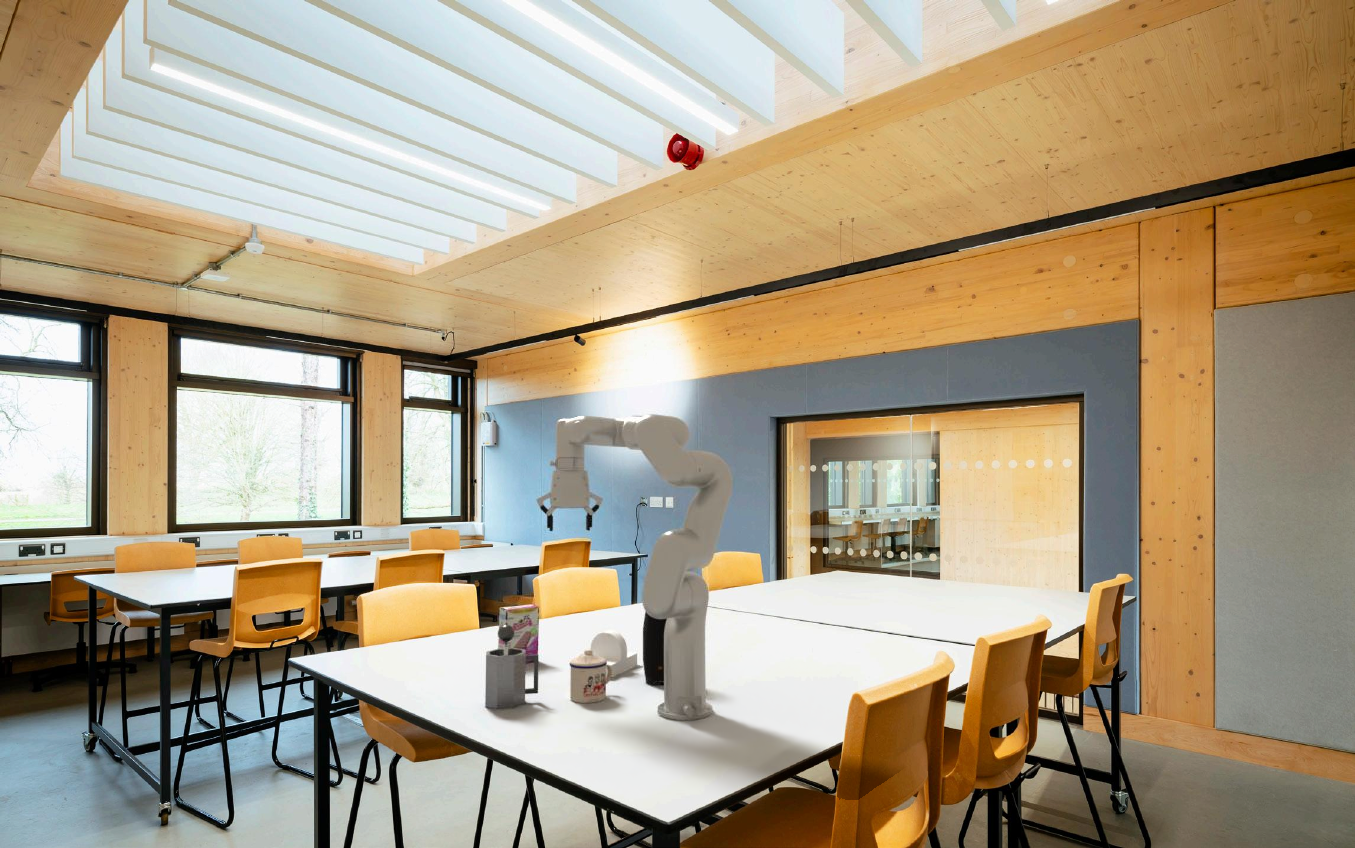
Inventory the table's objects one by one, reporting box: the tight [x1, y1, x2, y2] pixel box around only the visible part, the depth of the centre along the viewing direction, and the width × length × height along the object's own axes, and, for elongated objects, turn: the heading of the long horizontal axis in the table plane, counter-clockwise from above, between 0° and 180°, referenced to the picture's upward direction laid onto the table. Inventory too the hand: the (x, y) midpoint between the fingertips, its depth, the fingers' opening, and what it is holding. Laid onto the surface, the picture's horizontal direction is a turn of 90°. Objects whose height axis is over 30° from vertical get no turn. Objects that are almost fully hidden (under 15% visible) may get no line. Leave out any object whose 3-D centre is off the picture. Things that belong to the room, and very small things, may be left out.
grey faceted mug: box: [484, 648, 539, 710], centre depth 179 cm, size 9×12×12 cm
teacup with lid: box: [569, 648, 612, 704], centre depth 184 cm, size 12×9×12 cm
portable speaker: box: [642, 610, 667, 686], centre depth 198 cm, size 9×9×20 cm
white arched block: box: [590, 630, 638, 678], centre depth 211 cm, size 18×10×11 cm, turn 157°
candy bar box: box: [497, 604, 540, 663], centre depth 222 cm, size 11×5×16 cm, turn 130°
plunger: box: [497, 625, 515, 656], centre depth 179 cm, size 6×6×16 cm
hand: (569, 530), depth 195 cm, fingers open, 9 cm apart
